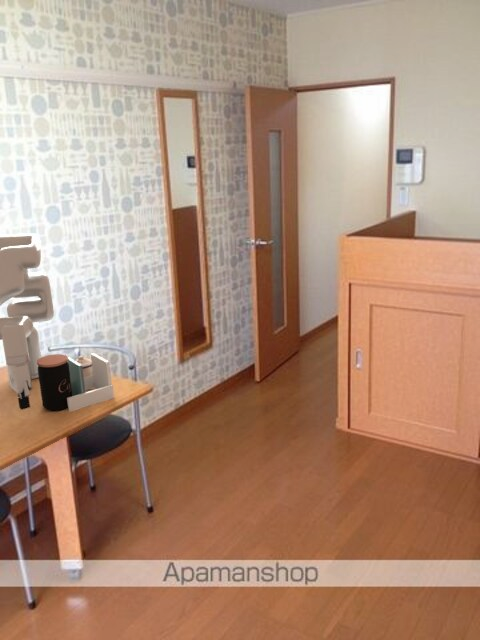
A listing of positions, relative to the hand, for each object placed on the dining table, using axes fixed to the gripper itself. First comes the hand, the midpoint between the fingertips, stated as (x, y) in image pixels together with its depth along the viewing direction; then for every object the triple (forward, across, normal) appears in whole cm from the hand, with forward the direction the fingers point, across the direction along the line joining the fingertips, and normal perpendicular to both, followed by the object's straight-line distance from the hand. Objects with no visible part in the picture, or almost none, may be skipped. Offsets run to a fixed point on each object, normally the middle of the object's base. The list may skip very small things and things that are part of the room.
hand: (24, 407), depth 209 cm
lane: (+3, 0, +22) cm, 22 cm away
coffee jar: (+3, 0, +12) cm, 12 cm away
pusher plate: (+3, 0, +19) cm, 19 cm away
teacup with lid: (+3, -14, +28) cm, 31 cm away
